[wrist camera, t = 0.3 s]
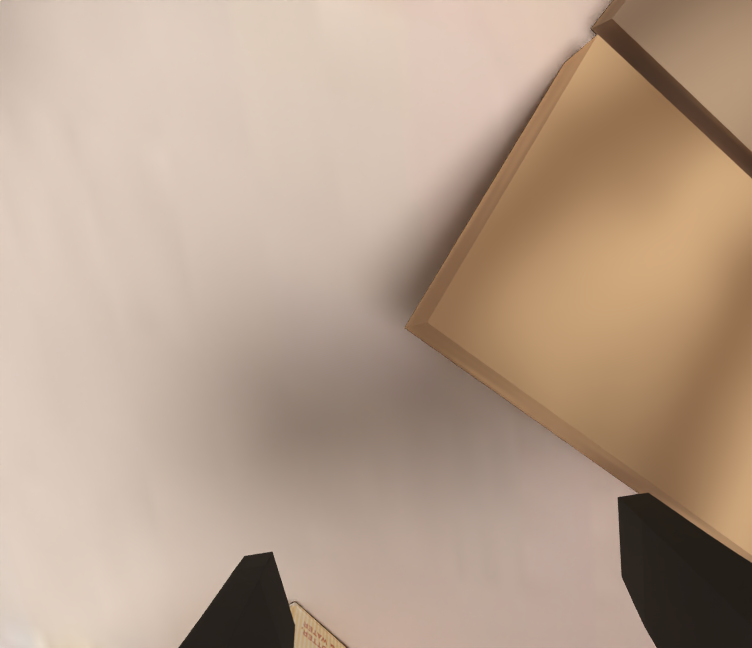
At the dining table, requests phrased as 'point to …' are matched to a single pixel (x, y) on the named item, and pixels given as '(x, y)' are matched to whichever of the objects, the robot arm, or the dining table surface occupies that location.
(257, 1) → the dining table surface
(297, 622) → the coffeecake box
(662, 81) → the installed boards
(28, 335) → the dining table surface
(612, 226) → the teak plank
